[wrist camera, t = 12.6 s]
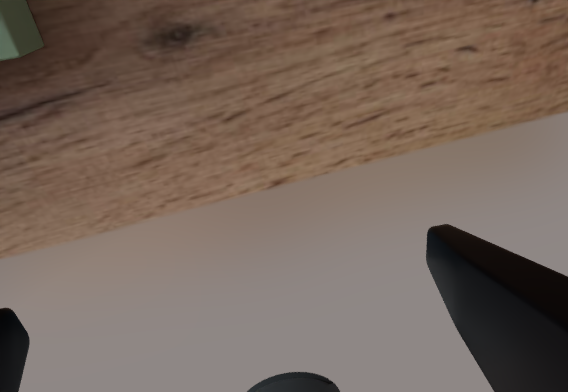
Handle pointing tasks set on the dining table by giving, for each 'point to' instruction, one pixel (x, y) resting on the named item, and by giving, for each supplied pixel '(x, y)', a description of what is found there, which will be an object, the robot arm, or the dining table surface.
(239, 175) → the dining table surface
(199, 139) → the dining table surface
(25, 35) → the kitchen scale
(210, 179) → the dining table surface
